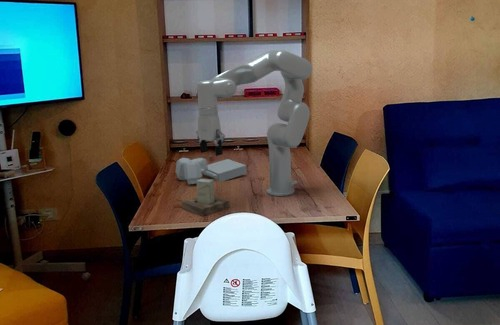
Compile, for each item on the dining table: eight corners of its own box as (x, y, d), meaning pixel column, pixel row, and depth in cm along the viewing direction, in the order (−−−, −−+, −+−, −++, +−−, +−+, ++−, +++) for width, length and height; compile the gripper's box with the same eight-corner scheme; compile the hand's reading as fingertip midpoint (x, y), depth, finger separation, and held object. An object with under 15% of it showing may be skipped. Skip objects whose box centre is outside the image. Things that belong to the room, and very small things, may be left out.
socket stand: (208, 200, 211) (208, 194, 210) (229, 207, 201) (229, 200, 200) (182, 208, 201) (181, 201, 201) (202, 216, 191) (202, 209, 191)
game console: (247, 173, 248) (244, 149, 244) (191, 191, 233) (187, 166, 229) (228, 166, 264) (225, 144, 261) (175, 182, 249) (171, 158, 245)
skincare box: (197, 209, 200) (195, 181, 197) (202, 205, 204) (200, 178, 201) (210, 210, 198) (209, 182, 195) (215, 207, 202) (214, 179, 199)
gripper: (187, 111, 196) (191, 152, 201) (214, 114, 184) (217, 158, 188) (202, 109, 201) (205, 149, 206) (229, 112, 189) (232, 154, 193)
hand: (211, 153), depth 197 cm, fingers open, 9 cm apart
